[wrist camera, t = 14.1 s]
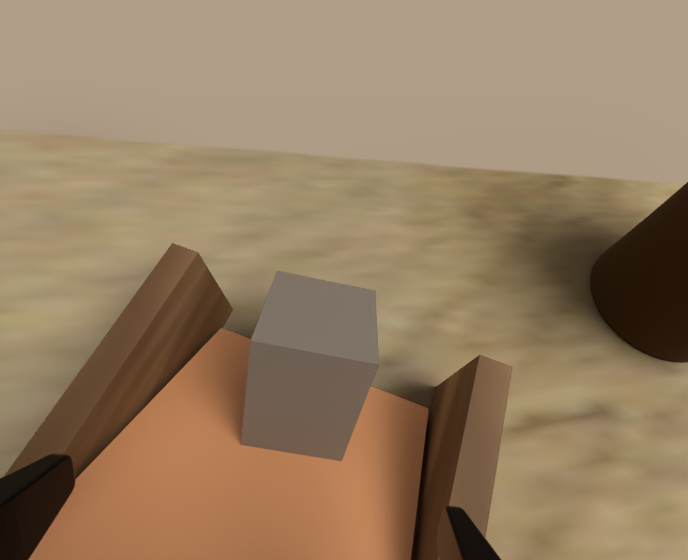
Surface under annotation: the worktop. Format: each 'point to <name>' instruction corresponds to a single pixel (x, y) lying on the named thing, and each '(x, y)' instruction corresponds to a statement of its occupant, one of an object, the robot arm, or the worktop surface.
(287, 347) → the stone
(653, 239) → the olive oil
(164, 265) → the frame
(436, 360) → the worktop surface
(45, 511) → the robot arm
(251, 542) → the trapdoor
